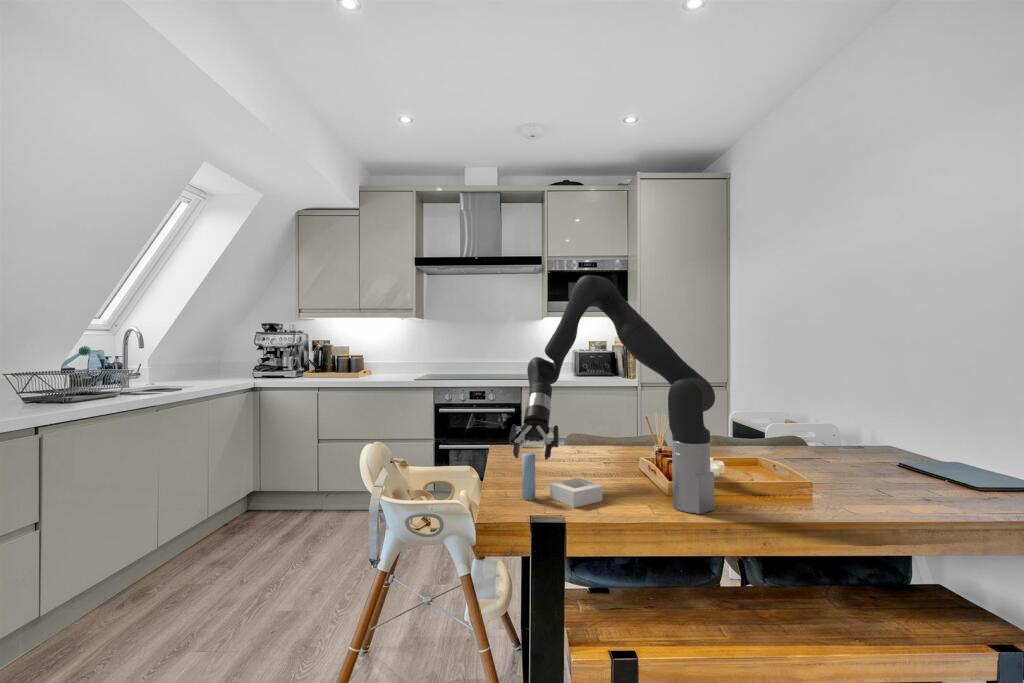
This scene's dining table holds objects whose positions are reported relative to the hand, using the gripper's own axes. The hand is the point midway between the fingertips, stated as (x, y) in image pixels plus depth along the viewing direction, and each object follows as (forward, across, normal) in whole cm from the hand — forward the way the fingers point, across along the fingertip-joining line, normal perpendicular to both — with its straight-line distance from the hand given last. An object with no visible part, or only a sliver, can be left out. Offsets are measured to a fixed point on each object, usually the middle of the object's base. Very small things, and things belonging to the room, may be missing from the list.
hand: (531, 457), depth 147 cm
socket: (+9, +13, +5) cm, 17 cm away
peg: (+10, 0, +4) cm, 11 cm away
